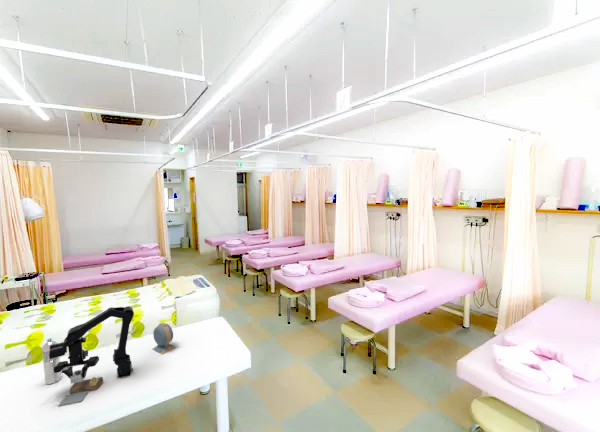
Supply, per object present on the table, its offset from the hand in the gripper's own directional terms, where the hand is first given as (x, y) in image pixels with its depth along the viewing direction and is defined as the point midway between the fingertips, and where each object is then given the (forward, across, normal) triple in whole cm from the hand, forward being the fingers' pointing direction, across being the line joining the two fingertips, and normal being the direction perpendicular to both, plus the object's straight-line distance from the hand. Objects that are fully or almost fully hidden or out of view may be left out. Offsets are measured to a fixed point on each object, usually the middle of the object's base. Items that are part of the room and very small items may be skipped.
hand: (78, 378), depth 149 cm
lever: (+3, -8, +2) cm, 9 cm away
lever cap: (0, 0, 0) cm, 0 cm away
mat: (+6, -1, +8) cm, 10 cm away
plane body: (+6, -4, 0) cm, 7 cm away
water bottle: (+6, +18, -13) cm, 23 cm away
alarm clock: (+6, -37, -29) cm, 48 cm away
